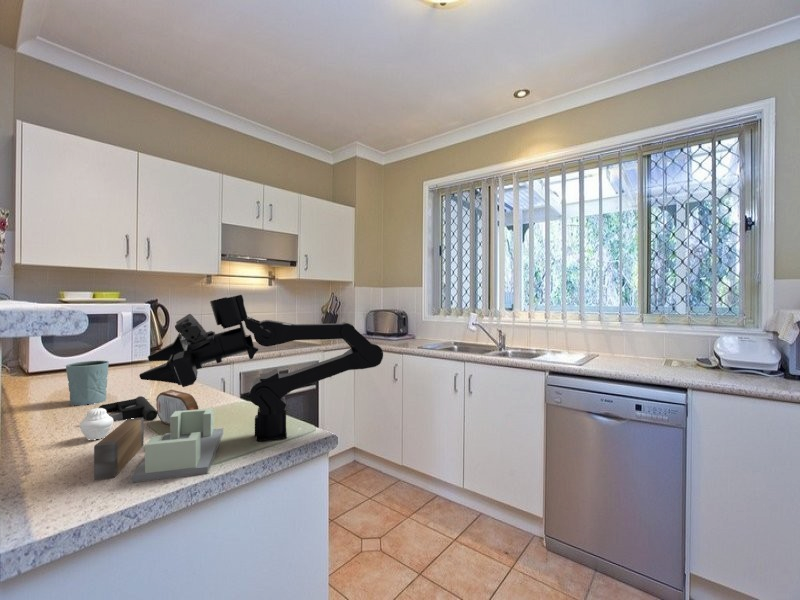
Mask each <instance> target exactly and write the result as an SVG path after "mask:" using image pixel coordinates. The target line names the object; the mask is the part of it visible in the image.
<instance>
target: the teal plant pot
mask: <svg viewBox="0 0 800 600" xmlns="http://www.w3.org/2000/svg"><path fill="white" fill-rule="evenodd" d="M109 363H110V362H109V361H108V360H88V361H87V360H86V361H79V362H78V361H77V362H72V363H68V364H66V365H65V371H66V377H67V378H66V379H67V381H68V384H67V385H68V392H69V403H70V406H73V405H85V406H88V405H87V404H92V405H95V404H94V403H98V404H100V402H101V403H103V401H104V402H105V401H107V387H108V386H107V385H108V375H109Z"/></svg>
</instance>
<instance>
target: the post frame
mask: <svg viewBox="0 0 800 600" xmlns="http://www.w3.org/2000/svg"><path fill="white" fill-rule="evenodd" d="M214 420H215V408H212V407H211V408H200V409H199V408H198V409H197V410H184V411H175V412H174V413H173V414H172V415H171V417H170V425H169V432H168V433H167V432H166V433H164V435H162V434H161V435H152V437H150V439H149V440H148V441H147V442H146V443H145V444H144V459H143V461H142V462H141V463H140V464H139V465H138V466H137V468H136V469H135V470H134V472H133V473H132V474H131V475H130V483H139V482H148V481H156V480H163V479H171V478H181V477H187V476H189V477H190V476H196V475H197V476H198V475H204V474H205V475H206V474H208V473H209V471H210V468H211V466H212V463H213V461H214V459H215V455H216V452H217V451H218V448H219V446H220V442H221V441H222V440H221V439H222V438H223V436H224V428H215V421H214Z"/></svg>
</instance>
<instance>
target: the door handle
mask: <svg viewBox="0 0 800 600" xmlns="http://www.w3.org/2000/svg"><path fill="white" fill-rule="evenodd" d="M148 400H150V398H148V399H146V397H145V396H141V395H139V396H137V397H135V398H131V399H126V400H121V401H115V402H112V403H106V404H102V405H100V406H99V407H98V408H103V409H105V410H106V411H107V413H110V414H108V415H109V416H111V417H112V418H113V420H114V421H113V422H117V421H116V420H118V421H126V419H131V418H139V417H140V418H144V419H145V420H148V421H153V420H155V419H157V417H158V414H157V408H156V407H154V406H153V405H152V404H151V402H149V401H148ZM112 411H113V412H114V413H112ZM115 412H116V413H115ZM122 419H123V420H122Z"/></svg>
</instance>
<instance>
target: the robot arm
mask: <svg viewBox="0 0 800 600" xmlns="http://www.w3.org/2000/svg"><path fill="white" fill-rule="evenodd" d="M209 304H210V306H211V311H212V313H213V317H214V319H215V323H216V325H217V326H221V327H222V329H224V330H225V329H229V328H232V327H236V326H239V327H237V328H232V329H229V330H225V331H221V332H218V333H216V332H215V331H212V330H209V331H206V329H204V327H203V325H201V324H200V322H199V321H198V320H197V319H196V318H195V317H194V316H193V315H192V313H189V314H187V315H185V316H184V317H182V318H180V319H179V320H177V321H176V322H175V323H176V324H175V325H174V329H175V331H176V332H177V333H178V334H177V336H176V337H175V339H174V341H173V342H171V343H170V344H168V345H167V346H165V347H162V348H160V349H159V350H158V351H155V352H154V353H152V354H149V355H148V356H147V359H148V361H149V362H165V363H162V364H161V365H160V364H159V365H158V366H155V367H152V368H150V369H148V370H146V371H143V372H141V373H139V378H140V380H143V381H145V380H146V381H153V382H154V381H155V382H164V383H169V384H170V383H171V384H177V385H178V386H181V387H182V388H186V387H189V386H193V385H194V384H195V382H196V381H197V378H198V372H199V371H198V370H200V369H202V368H203V365H205V364H209V363H212V362H216V364H220V363H222V362H223V359H226V358H230V357H232V356H236V355H239V354H243V353H246V352H247V354H248V358H249V360H253V358H254V356H255V355H256V353H257V352H259V348H258V347H256V346H255V344H254V341H253V339H254V340H255V341H256V343H257V344H258V345H260V346H262V347H272V346H273V347H274V346H277V345H283V344H286V343H290V342H293V341H306V340H307V341H309V340H310V341H311V340H313V341H315V340H316V341H317V340H343V341H344V342H345V343H346V344H347V345H348V346H349V347H350V348H349V349H348V350H347V351H345V352H344V353H342V354H341V355H336V356H334V357H331V358H328V359H325V360H322V361H319V362H317V363H314V364H311V365H307V366H305V367H302V368H299V369H297V370H294V371H290V372H287V373H279V371H278V368H274V369H272V370H270V371H268V372H266V373H259V377H257V378H255V379H254V380H253V381H252V382H251V384H250V389H249V399H250V401H251V403H252V404H253V405H255V406H257V407H258V408H257V414H256V415H255V416H254V436H255V437H256V442H263V441H272V440H282V439H287V436H288V435H287V434H288V433H287V403H286V402H287V401H286V395H288V394H290V393H291V392H292V391H294V390H298V389H300V388H303V387H306V386H309V385H311V384H314V383H316V382H319V381H323V380H325V379H328V378H331V377H333V376H336V375H339V374H342V373H344V372H347V371H355V370H356V371H357V370H365V369H372V368H375V367H378V366H380V364H381V363H382V361H383V359H384V352H383V348H381V346H380V345H378V344H375V343H373V342H371V341H369V340H368V339H367V338H366V337H365V336H363V335H362V334H361V333H360V331H358V330H357V329H356V328H355V327H354V325H353V324H351V323H349V322H341V323H340V322H339V323H338V322H337V323H289V322H283V321H279V320H273V319H272V320H271V319H265V320H261V321H260V320H258V319H255V318H253V317H249V316H248V314H247V310H246V307H245V301H244V296H243V294H239V295H233V296H229V297H227V296H226V297H221V298H217V299H214V300H210V301H209ZM243 322H244V324H245V325H244V324H243ZM244 326H245V327H244ZM245 328H246V329H247V330H248V331H249V332H251V333H252V334H253V338H252V334H246V330H245ZM166 361H167V362H166Z"/></svg>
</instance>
